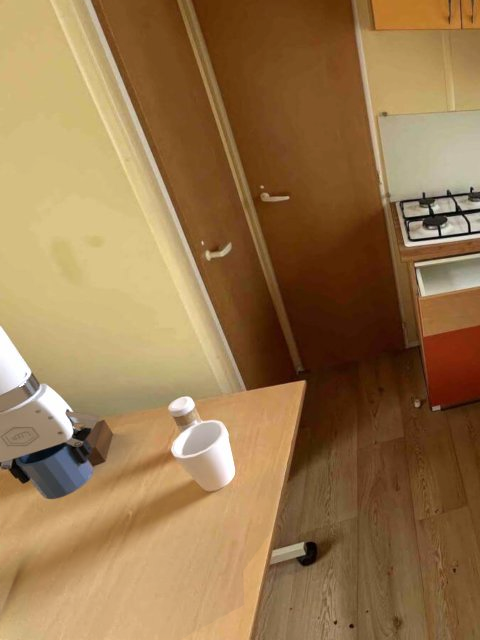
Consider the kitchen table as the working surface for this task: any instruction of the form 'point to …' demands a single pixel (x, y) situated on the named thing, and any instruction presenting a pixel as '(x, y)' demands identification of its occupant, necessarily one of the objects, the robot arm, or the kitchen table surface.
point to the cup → (55, 471)
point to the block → (99, 442)
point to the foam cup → (206, 454)
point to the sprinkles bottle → (184, 413)
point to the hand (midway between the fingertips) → (57, 466)
